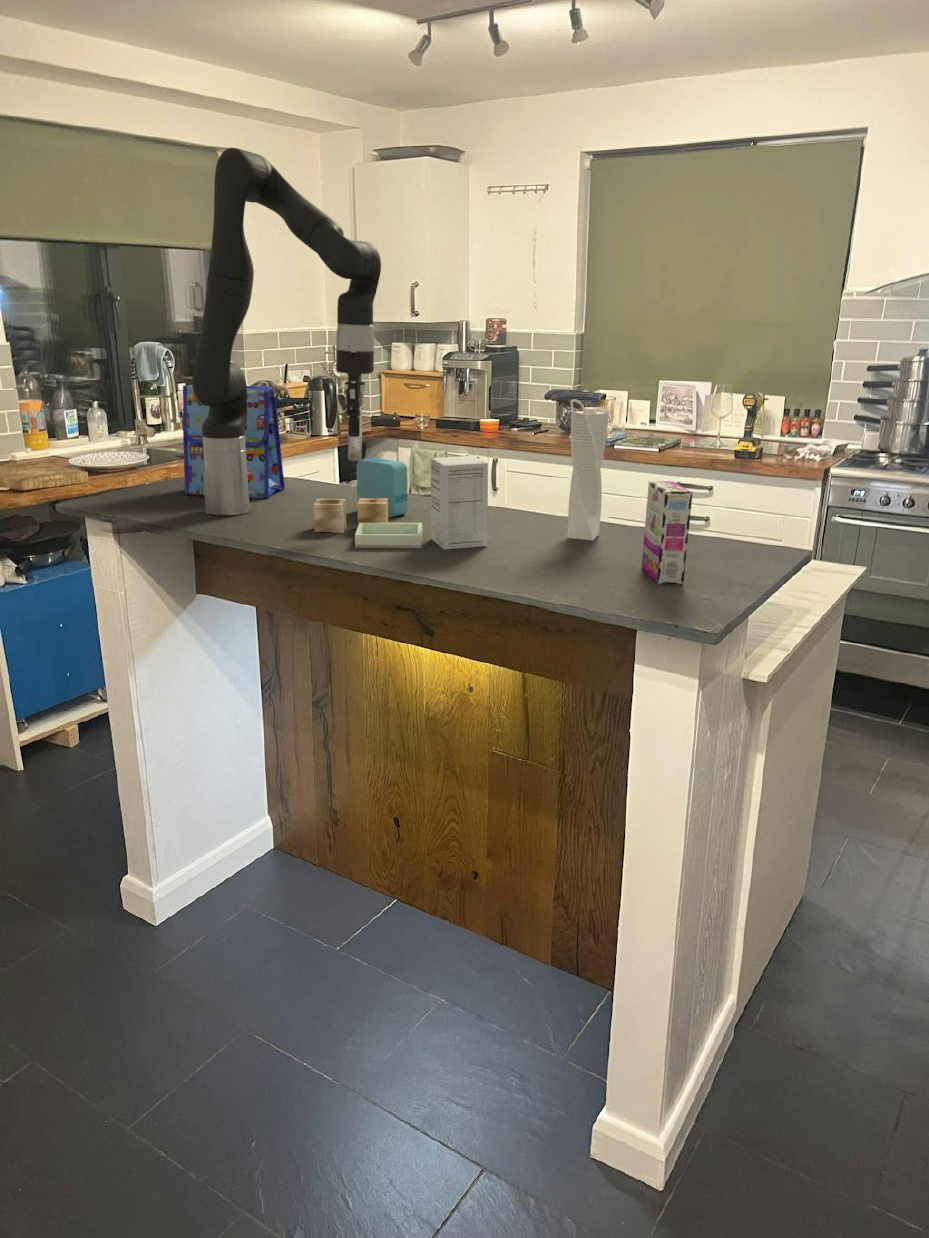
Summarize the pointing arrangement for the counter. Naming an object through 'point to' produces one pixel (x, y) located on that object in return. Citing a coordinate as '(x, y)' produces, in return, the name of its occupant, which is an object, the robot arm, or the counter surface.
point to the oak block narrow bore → (373, 510)
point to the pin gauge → (355, 441)
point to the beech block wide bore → (330, 515)
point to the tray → (388, 535)
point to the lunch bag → (258, 441)
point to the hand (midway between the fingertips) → (354, 434)
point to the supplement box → (459, 502)
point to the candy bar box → (666, 532)
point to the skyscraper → (586, 471)
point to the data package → (383, 483)
